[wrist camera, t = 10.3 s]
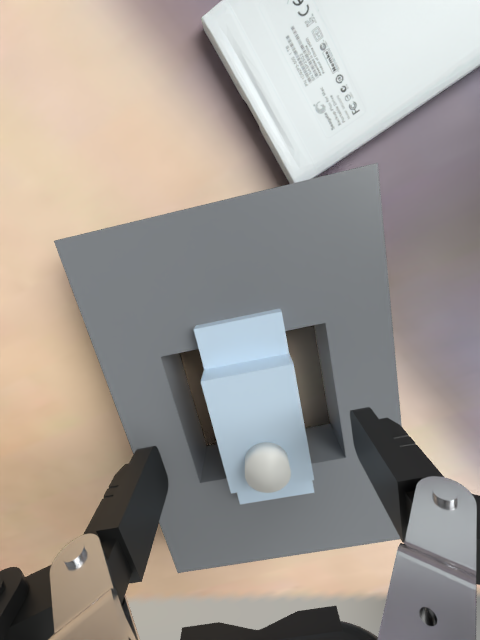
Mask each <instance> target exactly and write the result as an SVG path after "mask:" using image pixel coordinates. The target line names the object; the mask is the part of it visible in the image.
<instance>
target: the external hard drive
mask: <svg viewBox="0 0 480 640" xmlns="http://www.w3.org/2000/svg"><path fill="white" fill-rule="evenodd" d="M201 20H202V24H203V29H204V31H205V33H206V34H207V36H208V38H209V40H210V41H211V43H212V45H213V47H214V49H215V50H216V52H217V54H218V56H219V58H220V59H221V61H222V63H223V65H224V67H225V68H226V70H227V72H228V74H229V75H230V77H231V79H232V81H233V83H234V84H235V86H236V88H237V90H238V92H239V93H240V95H241V97H242V99H243V100H244V101H245V102H246V103H247V105H248V107H249V109H250V110H251V112H252V114H253V116H254V118H255V120H256V121H257V123H258V125H259V127H260V131H261V133H262V135H263V136H264V138H265V140H266V142H267V144H268V145H269V147H270V149H271V151H272V153H273V154H274V156H275V158H276V160H277V162H278V163H279V165H280V167H281V169H282V171H283V172H284V174H285V176H286V178H287V180H288V181H289V183H290V184H292V183H297V182H301V181H305V180H309V179H313V178H315V177H317V176H318V175H320V174H321V173H323V172H324V171H326V170H327V169H329V168H330V167H332V166H333V165H335V164H336V163H338V162H339V161H341V160H342V159H344V158H345V157H346V156H348V155H349V154H351V153H352V152H354V151H355V150H357V149H358V148H360V147H361V146H363V145H364V144H366V143H367V142H369V141H370V140H372V139H373V138H375V137H376V136H378V135H379V134H381V133H382V132H384V131H385V130H386V129H388V128H389V127H391V126H392V125H394V124H395V123H397V122H398V121H400V120H401V119H403V118H404V117H406V116H407V115H409V114H410V113H411V112H413V111H414V110H416V109H417V108H419V107H420V106H422V105H423V104H425V103H426V102H428V101H429V100H431V99H432V98H433V97H435V96H436V95H438V94H439V93H441V92H442V91H444V90H445V89H447V88H448V87H450V86H451V85H453V84H454V83H456V82H457V81H459V80H460V79H461V78H463V77H464V76H466V75H467V74H469V73H470V72H472V71H473V70H475V69H476V68H478V67H479V66H480V0H222V1H221V2H219V3H218V4H217V5H216V6H215V7H213V8H212V9H211V10H210V11H209V12H208V13H207V14H205V15H204V16H203V17H202V18H201Z"/></svg>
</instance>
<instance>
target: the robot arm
mask: <svg viewBox="0 0 480 640" xmlns="http://www.w3.org/2000/svg"><path fill="white" fill-rule="evenodd" d="M350 420H351V427H352V435H353V442H354V447H355V451H356V454H357V456H358V459H359V461H360V463H361V464H362V466H363V468H364V470H365V472H366V474H367V476H368V478H369V480H370V481H371V483H372V485H373V487H374V489H375V491H376V493H377V495H378V497H379V498H380V500H381V502H382V504H383V506H384V508H385V510H386V512H387V514H388V516H389V517H390V519H391V521H392V523H393V525H394V527H395V529H396V531H397V533H398V534H399V536H400V538H401V540H402V542H404V544H402V543H400V545H399V547H398V550H397V554H396V559H395V563H394V568H393V572H392V577H391V581H390V586H389V590H388V595H387V599H386V604H385V608H384V613H383V617H382V622H381V626H380V631H379V636H378V637H377V636H375V635H374V634H372V633H371V632H369V631H367V630H365V629H363V628H361V627H359V626H356V625H353V624H350V623H347V622H342V621H340V619H339V615H338V611H337V607H336V606H332V607H324V608H317V609H310V610H303V611H297V612H295V613H293V614H291V615H289V616H287V617H285V618H283V619H281V620H279V621H277V622H275V623H273V624H271V625H269V626H267V627H265V628H263V629H260V630H253V629H247V628H243V627H238V626H234V625H229V624H224V623H212V624H205V625H198V626H191V627H184V628H182V632H181V639H180V640H476V584H479V585H480V496H478V495H474V494H471V493H470V491H469V490H467V489H466V488H465V487H464V486H462V485H461V484H459V483H458V482H456V481H453V480H451V479H448V478H444V476H443V475H442V474H441V473H440V472H439V471H438V469H437V468H436V467H435V466H434V465H433V463H432V462H431V461H430V460H429V459H428V458H427V456H426V455H425V454H424V453H423V452H422V450H421V449H420V448H419V447H418V446H417V445H416V444H415V442H414V441H413V440H412V439H411V437H409V436H408V434H407V433H406V431H405V430H404V429H403V428H402V427H401V426H400V425H399V424H398V423H396V422H394V421H393V420H391V419H389V418H382V419H379V418H378V417H377V416H376V414H375V413H374V412H373V410H372V409H371V408H370V407H366V408H360V409H355V410H350ZM167 492H168V476H167V473H166V470H165V467H164V464H163V461H162V458H161V455H160V453H159V450H158V448H157V447H156V446H151V447H145V448H140V449H137V450H136V451H135V453H134V455H133V457H132V459H131V461H130V463H129V464H125V465H124V466H123V467H122V468H121V469H120V470H119V471H118V472H117V474H116V475H115V476H114V478H113V480H112V482H111V484H110V485H109V489H107V491H106V493H105V495H104V499H102V501H101V502H100V504H99V506H98V508H97V510H96V512H95V514H94V516H93V517H92V519H91V521H90V523H89V525H88V527H87V529H86V531H85V532H84V534H83V535H82V536H79V537H77V538H75V539H74V540H72V541H71V542H70V543H68V544H67V545H66V546H65V547H64V548H63V549H62V550H61V551H60V552H59V553H58V555H57V556H56V558H55V559H54V561H53V563H52V565H50V566H48V567H46V568H44V569H42V570H39V571H37V572H35V573H33V574H31V575H29V576H27V577H25V576H24V575H23V573H22V571H21V570H20V569H19V568H17V567H10V568H7V569H4V570H2V571H0V640H140V638H139V635H138V632H137V629H136V626H135V623H134V620H133V617H132V614H131V610H130V608H129V604H128V601H127V598H126V596H125V593H126V590H127V587H128V584H129V583H135V582H142V579H143V575H144V572H145V568H146V565H147V562H148V558H149V555H150V551H151V548H152V544H153V541H154V537H155V534H156V530H157V527H158V524H159V520H160V517H161V513H162V510H163V506H164V503H165V499H166V496H167Z"/></svg>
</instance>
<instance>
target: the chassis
mask: <svg viewBox="0 0 480 640" xmlns="http://www.w3.org/2000/svg"><path fill="white" fill-rule="evenodd" d="M54 242H55V245H56V248H57V250H58V253H59V256H60V258H61V261H62V264H63V266H64V269H65V272H66V274H67V277H68V280H69V283H70V285H71V288H72V291H73V293H74V296H75V299H76V301H77V304H78V307H79V309H80V312H81V315H82V317H83V320H84V323H85V325H86V328H87V331H88V333H89V336H90V339H91V341H92V344H93V347H94V349H95V352H96V355H97V358H98V360H99V363H100V366H101V368H102V371H103V374H104V376H105V379H106V382H107V384H108V387H109V390H110V392H111V395H112V398H113V400H114V403H115V406H116V408H117V411H118V414H119V416H120V419H121V422H122V424H123V427H124V430H125V432H126V435H127V438H128V441H129V443H130V446H131V449H132V451H133V454H134V453H135V451H136V450H137V449H140V448H145V447H151V446H156V447H157V448H158V450H159V453H160V455H161V458H162V461H163V464H164V467H165V470H166V473H167V476H168V492H167V496H166V499H165V503H164V506H163V510H162V513H161V517H160V520H159V524H160V526H161V529H162V532H163V534H164V537H165V540H166V542H167V545H168V548H169V550H170V553H171V556H172V558H173V561H174V564H175V566H176V569H177V572H178V573H181V572H188V571H194V570H201V569H207V568H214V567H220V566H227V565H234V564H240V563H247V562H253V561H260V560H266V559H273V558H279V557H286V556H292V555H299V554H305V553H312V552H319V551H325V550H332V549H338V548H345V547H351V546H358V545H364V544H371V543H377V542H384V541H390V540H397V539H401V538H400V536H399V534H398V533H397V531H396V529H395V527H394V525H393V523H392V521H391V519H390V517H389V516H388V514H387V512H386V510H385V508H384V506H383V504H382V502H381V500H380V498H379V497H378V495H377V493H376V491H375V489H374V487H373V485H372V483H371V481H370V480H369V478H368V476H367V474H366V472H365V470H364V468H363V466H362V464H361V463H360V461H359V459H358V456H357V454H356V451H355V447H354V442H353V435H352V427H351V420H350V410H355V409H360V408H366V407H370V408H371V409H372V410H373V412H374V413H375V414H376V416H377V417H378V418H379V419H382V418H389V419H391V420H393V421H394V422H396V423H398V424H399V425H400V426H401V415H400V404H399V393H398V382H397V371H396V360H395V349H394V338H393V327H392V316H391V305H390V294H389V283H388V272H387V261H386V250H385V239H384V227H383V216H382V205H381V194H380V183H379V172H378V163H375V164H371V165H367V166H363V167H359V168H355V169H351V170H346V171H342V172H338V173H334V174H330V175H326V176H322V177H317V178H313V179H309V180H305V181H301V182H297V183H292V184H288V185H284V186H280V187H276V188H272V189H268V190H263V191H259V192H255V193H251V194H247V195H243V196H238V197H234V198H230V199H226V200H222V201H218V202H214V203H209V204H205V205H201V206H197V207H193V208H189V209H184V210H180V211H176V212H172V213H168V214H164V215H160V216H155V217H151V218H147V219H143V220H139V221H135V222H130V223H126V224H122V225H118V226H114V227H110V228H106V229H101V230H97V231H93V232H89V233H85V234H81V235H76V236H72V237H68V238H64V239H60V240H56V241H54ZM275 309H281V311H282V316H283V322H284V327H285V331H288V330H293V329H298V328H303V327H308V326H312V325H314V329H315V335H316V341H317V348H318V354H319V360H320V366H321V372H322V378H323V384H324V391H325V397H326V403H327V409H328V415H329V421H330V424H325V425H319V426H314V427H308V428H305V431H306V436H307V442H308V448H309V453H310V459H311V464H312V470H313V476H314V480H312V482H313V487H314V493H309V494H303V495H296V496H290V497H284V498H278V499H271V500H265V501H259V502H253V503H246V504H240V502H239V499H238V495H237V493H231V492H230V488H229V484H228V481H227V477H226V473H225V470H224V466H223V462H222V459H221V455H220V451H219V448H218V444H215V445H210V446H207V445H206V442H205V439H204V435H203V432H202V428H201V425H200V422H199V418H198V415H197V411H196V408H195V405H194V401H193V398H192V394H191V391H190V388H189V384H188V381H187V377H186V374H185V371H184V367H183V364H182V360H181V357H180V354H179V353H182V352H186V351H191V350H196V349H199V348H198V344H197V341H196V337H195V333H194V328H195V326H196V325H201V324H206V323H211V322H216V321H221V320H226V319H231V318H236V317H241V316H246V315H250V314H255V313H260V312H265V311H270V310H275ZM401 427H402V426H401Z"/></svg>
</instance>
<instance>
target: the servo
mask: <svg viewBox="0 0 480 640" xmlns="http://www.w3.org/2000/svg"><path fill="white" fill-rule="evenodd" d="M194 333H195V337H196V341H197V344H198V348H199V352H200V356H201V359H202V363H203V367H204V372H203V375H202V378H201V385H202V389H203V393H204V396H205V400H206V404H207V407H208V411H209V415H210V418H211V422H212V426H213V429H214V433H215V437H216V440H217V444H218V448H219V451H220V455H221V459H222V462H223V466H224V470H225V473H226V477H227V481H228V484H229V488H230V492H231V493H237V495H238V499H239V502H240V504H246V503H253V502H259V501H265V500H271V499H278V498H284V497H290V496H296V495H303V494H309V493H314V487H313V482H312V480H314V476H313V470H312V464H311V459H310V453H309V448H308V442H307V436H306V431H305V425H304V420H303V414H302V408H301V403H300V397H299V392H298V386H297V381H296V375H295V369H294V364H293V361H292V359H291V356H290V354H289V349H288V344H287V338H286V333H285V327H284V322H283V316H282V311H281V309H275V310H270V311H265V312H260V313H255V314H250V315H246V316H241V317H236V318H231V319H226V320H221V321H216V322H211V323H206V324H201V325H196V326H195V328H194Z"/></svg>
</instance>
